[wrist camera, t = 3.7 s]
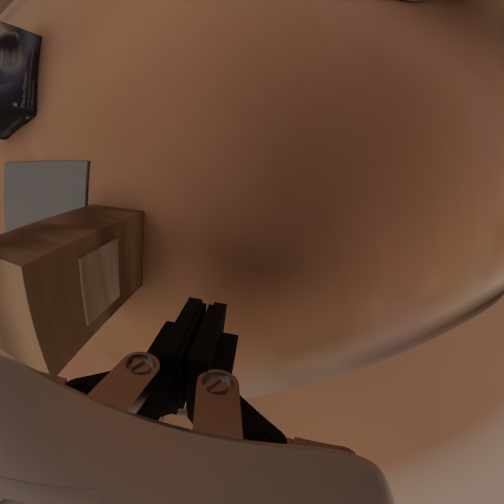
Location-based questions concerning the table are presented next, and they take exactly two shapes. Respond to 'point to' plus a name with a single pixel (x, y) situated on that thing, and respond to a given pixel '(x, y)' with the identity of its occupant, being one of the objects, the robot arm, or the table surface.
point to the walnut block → (66, 281)
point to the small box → (17, 77)
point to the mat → (43, 190)
